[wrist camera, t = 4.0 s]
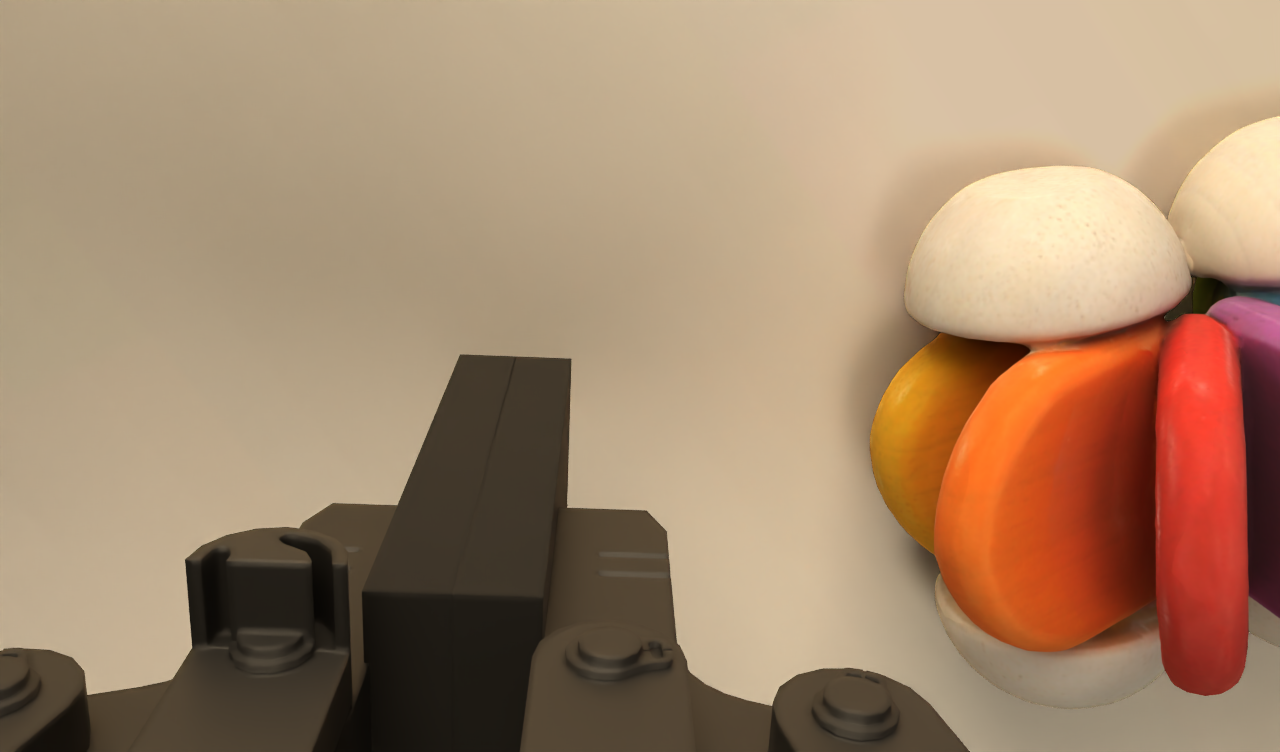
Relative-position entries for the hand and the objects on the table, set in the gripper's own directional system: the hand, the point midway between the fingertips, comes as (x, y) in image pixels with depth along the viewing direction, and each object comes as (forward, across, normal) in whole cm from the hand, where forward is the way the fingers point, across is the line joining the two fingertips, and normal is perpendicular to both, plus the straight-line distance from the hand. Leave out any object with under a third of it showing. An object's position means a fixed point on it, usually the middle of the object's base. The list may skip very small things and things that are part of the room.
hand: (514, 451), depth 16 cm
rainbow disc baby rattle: (+4, +10, 0) cm, 11 cm away
